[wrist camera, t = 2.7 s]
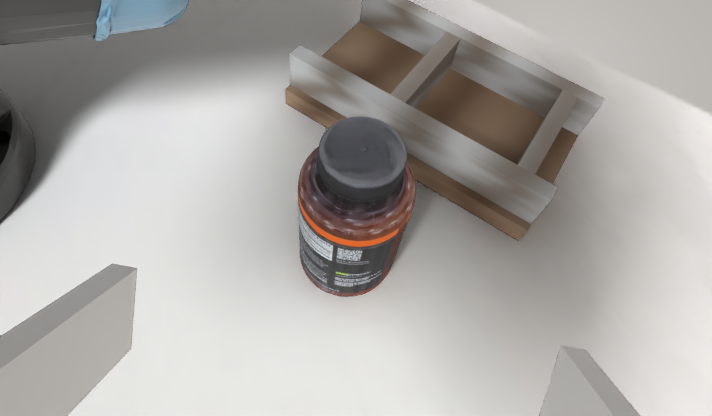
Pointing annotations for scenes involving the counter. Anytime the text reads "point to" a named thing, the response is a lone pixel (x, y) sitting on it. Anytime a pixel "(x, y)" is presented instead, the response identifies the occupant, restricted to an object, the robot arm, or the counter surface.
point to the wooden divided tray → (450, 108)
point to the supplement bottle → (354, 205)
